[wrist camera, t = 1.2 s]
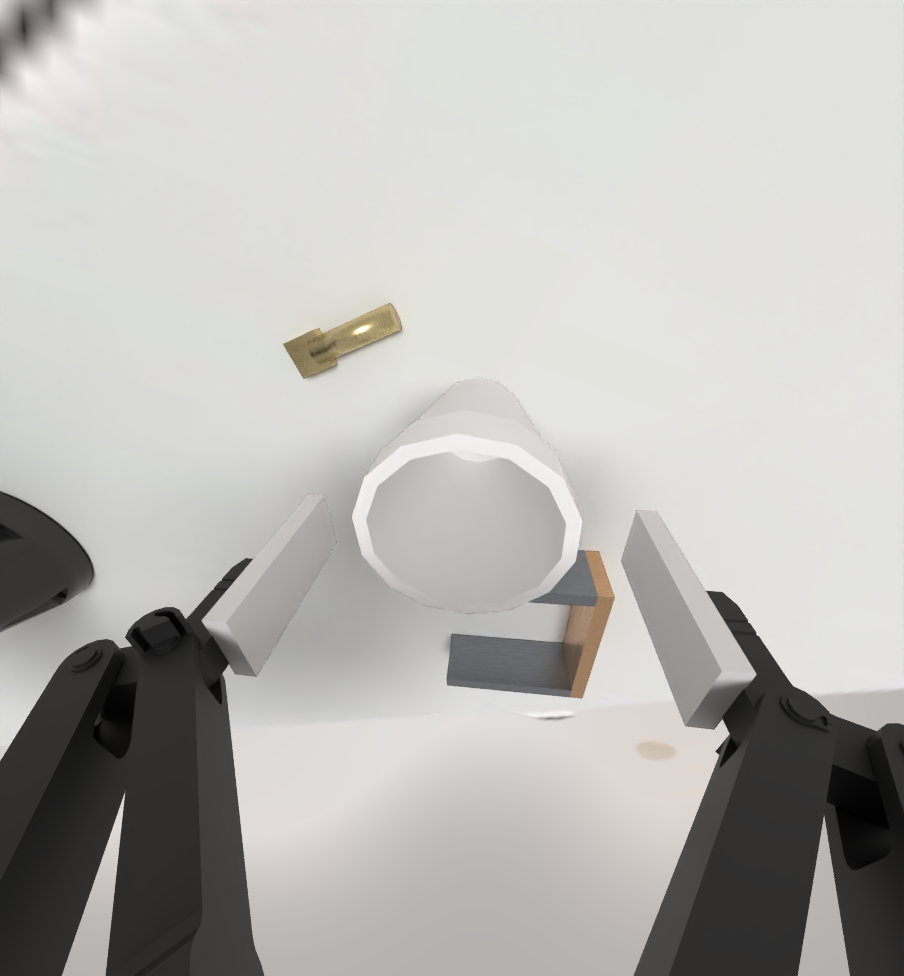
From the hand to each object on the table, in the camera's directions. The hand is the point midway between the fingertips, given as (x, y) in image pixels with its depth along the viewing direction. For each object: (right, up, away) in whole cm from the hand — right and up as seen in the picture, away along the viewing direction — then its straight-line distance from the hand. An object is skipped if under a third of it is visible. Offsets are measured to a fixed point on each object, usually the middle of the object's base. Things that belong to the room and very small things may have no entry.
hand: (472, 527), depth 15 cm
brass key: (-7, +12, +8) cm, 16 cm away
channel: (+5, -10, +20) cm, 23 cm away
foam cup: (+1, +7, +10) cm, 12 cm away
